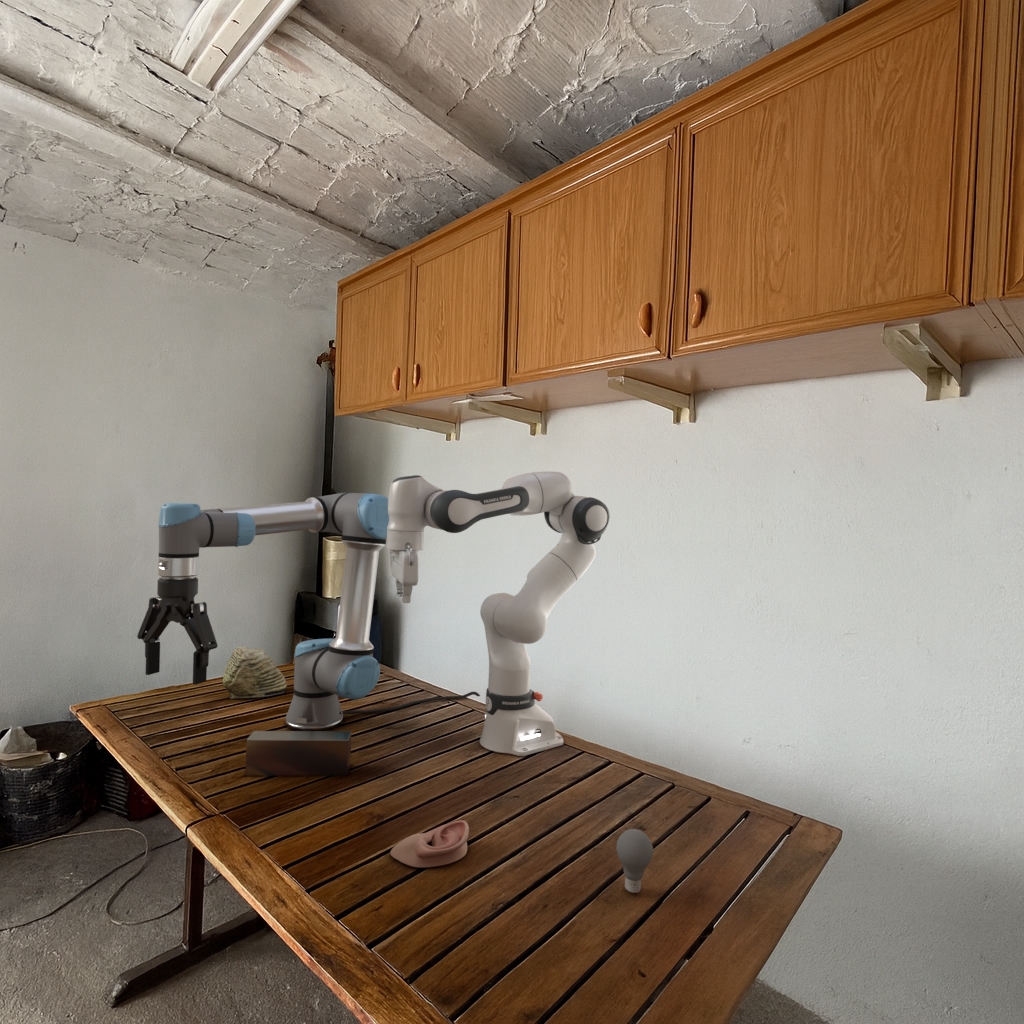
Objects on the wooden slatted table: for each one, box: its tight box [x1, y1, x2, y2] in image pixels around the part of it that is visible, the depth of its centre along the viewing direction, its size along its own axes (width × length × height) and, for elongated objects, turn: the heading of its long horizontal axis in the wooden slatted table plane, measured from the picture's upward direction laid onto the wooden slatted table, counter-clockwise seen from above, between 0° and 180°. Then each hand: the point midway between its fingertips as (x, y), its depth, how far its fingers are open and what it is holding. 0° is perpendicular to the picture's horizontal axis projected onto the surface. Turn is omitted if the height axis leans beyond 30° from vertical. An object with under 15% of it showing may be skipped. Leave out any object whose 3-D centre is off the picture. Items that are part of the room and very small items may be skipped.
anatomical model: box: [389, 819, 470, 869], centre depth 115 cm, size 13×4×12 cm
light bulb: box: [615, 828, 654, 894], centre depth 106 cm, size 6×6×10 cm
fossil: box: [222, 646, 288, 699], centre depth 198 cm, size 9×18×15 cm, turn 132°
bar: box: [244, 730, 353, 777], centre depth 146 cm, size 22×6×8 cm, turn 96°
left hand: (175, 678), depth 133 cm, fingers open, 13 cm apart
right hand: (403, 599), depth 153 cm, fingers open, 8 cm apart
